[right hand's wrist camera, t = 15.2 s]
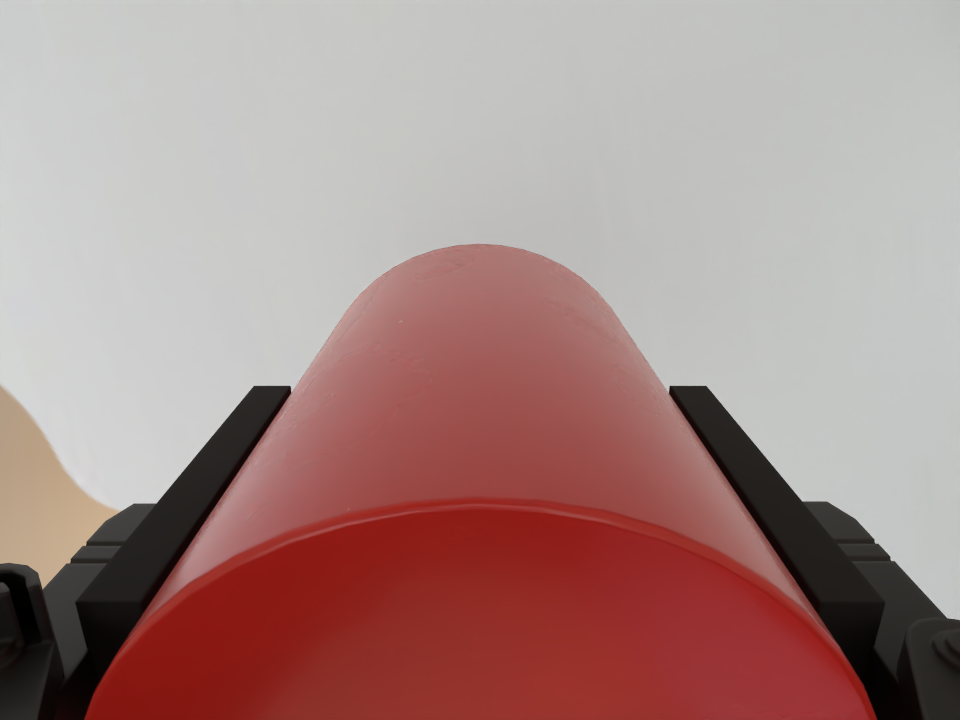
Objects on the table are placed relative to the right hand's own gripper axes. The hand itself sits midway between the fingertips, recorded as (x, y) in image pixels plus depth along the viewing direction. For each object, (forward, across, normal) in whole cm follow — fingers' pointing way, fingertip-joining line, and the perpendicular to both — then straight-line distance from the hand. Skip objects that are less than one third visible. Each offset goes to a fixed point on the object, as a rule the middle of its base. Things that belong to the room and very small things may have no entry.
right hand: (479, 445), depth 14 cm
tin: (+3, 0, 0) cm, 3 cm away
